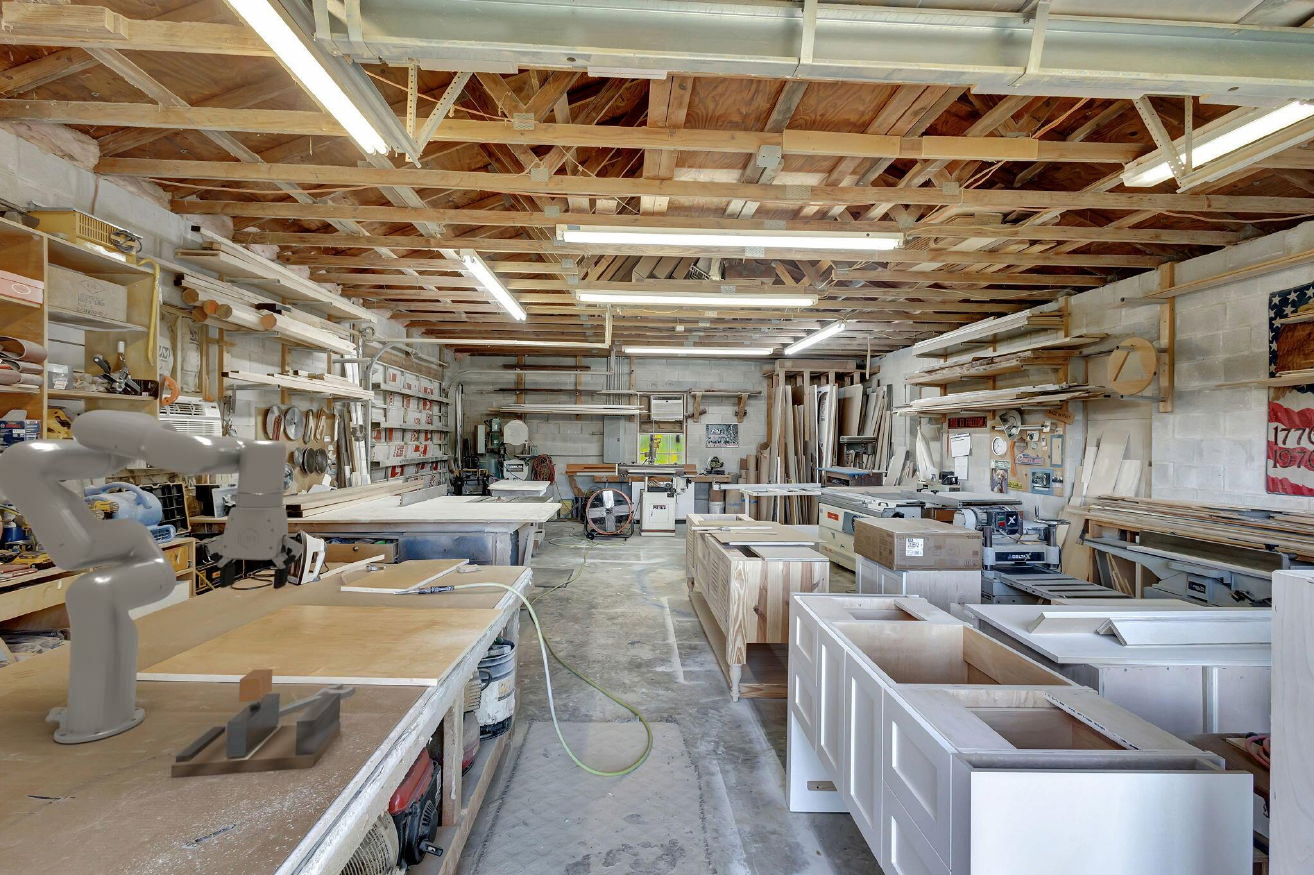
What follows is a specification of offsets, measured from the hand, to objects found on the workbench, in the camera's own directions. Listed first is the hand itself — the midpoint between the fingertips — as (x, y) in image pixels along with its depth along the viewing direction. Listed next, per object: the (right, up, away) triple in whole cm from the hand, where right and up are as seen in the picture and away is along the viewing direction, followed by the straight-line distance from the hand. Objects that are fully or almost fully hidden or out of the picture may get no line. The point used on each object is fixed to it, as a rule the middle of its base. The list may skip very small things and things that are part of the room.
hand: (253, 586), depth 107 cm
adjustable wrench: (+2, -30, +9) cm, 31 cm away
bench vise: (+8, -29, -8) cm, 31 cm away
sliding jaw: (+6, -26, -8) cm, 28 cm away
